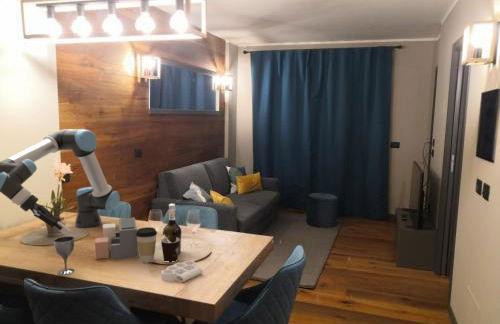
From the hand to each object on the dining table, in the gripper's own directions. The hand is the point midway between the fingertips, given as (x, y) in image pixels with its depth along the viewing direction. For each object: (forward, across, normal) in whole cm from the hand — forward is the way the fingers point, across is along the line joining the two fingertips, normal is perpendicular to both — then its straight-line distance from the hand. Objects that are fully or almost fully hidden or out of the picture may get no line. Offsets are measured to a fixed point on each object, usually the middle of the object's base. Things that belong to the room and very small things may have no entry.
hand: (67, 232), depth 189 cm
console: (+27, -6, +9) cm, 29 cm away
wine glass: (+10, +14, -9) cm, 20 cm away
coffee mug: (+43, +13, +24) cm, 51 cm away
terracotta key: (+20, -1, +1) cm, 20 cm away
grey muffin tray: (+44, +32, +24) cm, 60 cm away
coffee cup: (+35, +11, +16) cm, 40 cm away
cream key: (+23, -10, +4) cm, 25 cm away
